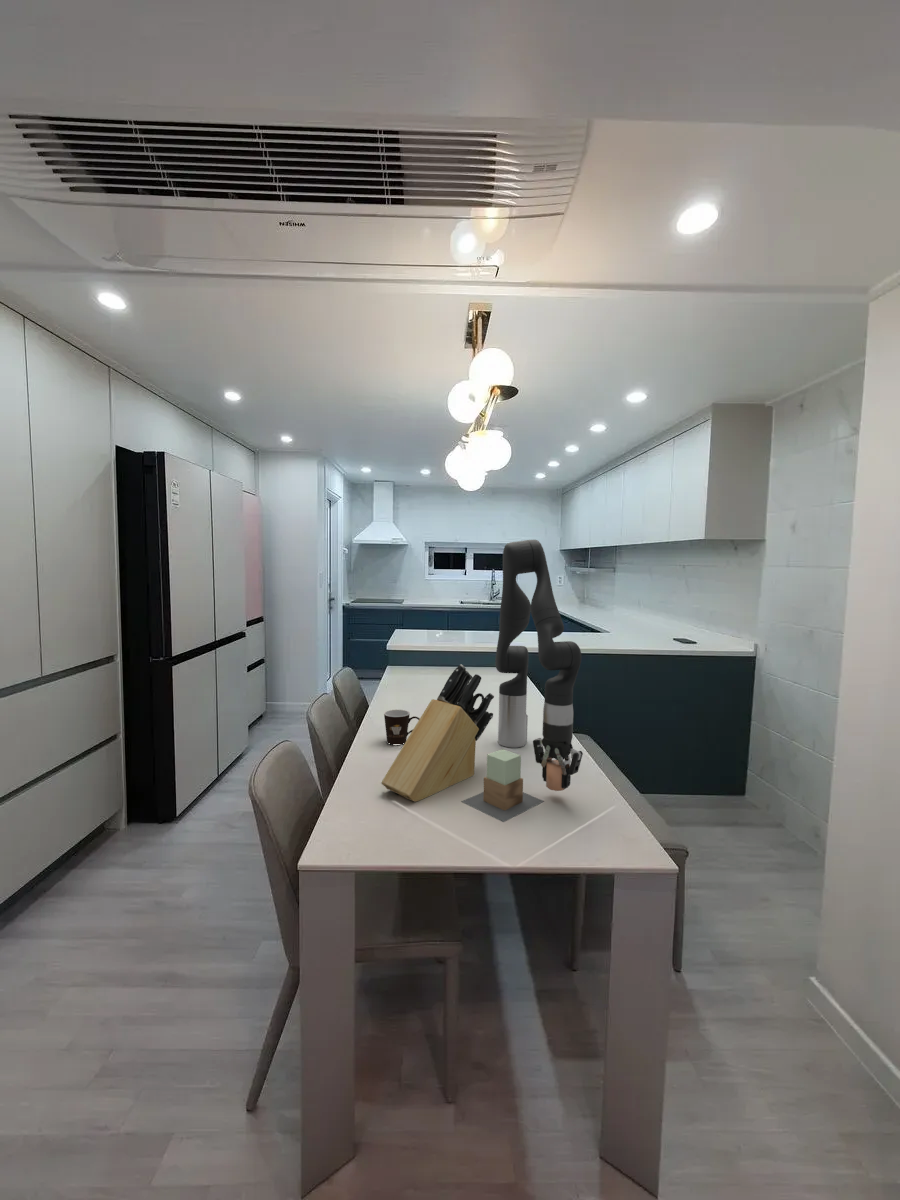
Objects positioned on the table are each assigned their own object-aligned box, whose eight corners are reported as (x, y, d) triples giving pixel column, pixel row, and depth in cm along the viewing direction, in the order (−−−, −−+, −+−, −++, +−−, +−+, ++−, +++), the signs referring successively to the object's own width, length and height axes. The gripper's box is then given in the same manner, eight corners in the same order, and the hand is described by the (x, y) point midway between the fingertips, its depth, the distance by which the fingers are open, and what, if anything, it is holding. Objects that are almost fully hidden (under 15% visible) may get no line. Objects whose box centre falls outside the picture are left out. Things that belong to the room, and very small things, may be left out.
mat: (502, 785, 142) (502, 783, 142) (544, 803, 132) (544, 801, 131) (461, 803, 131) (461, 801, 131) (503, 824, 121) (503, 822, 120)
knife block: (495, 767, 154) (498, 665, 152) (409, 807, 128) (411, 684, 126) (466, 757, 162) (468, 659, 159) (380, 793, 135) (380, 677, 133)
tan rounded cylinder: (553, 780, 137) (554, 758, 136) (569, 786, 133) (570, 764, 132) (542, 786, 133) (542, 763, 133) (558, 792, 129) (559, 769, 129)
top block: (502, 771, 135) (502, 749, 134) (520, 778, 131) (520, 755, 130) (486, 777, 131) (487, 754, 130) (504, 785, 126) (505, 761, 126)
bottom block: (501, 792, 136) (502, 770, 136) (522, 801, 131) (523, 778, 130) (483, 800, 131) (483, 777, 131) (504, 810, 126) (505, 786, 126)
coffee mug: (379, 744, 172) (379, 714, 172) (391, 736, 180) (391, 708, 180) (410, 749, 168) (410, 719, 167) (421, 741, 176) (422, 712, 175)
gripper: (590, 723, 129) (588, 789, 130) (543, 710, 139) (541, 771, 141) (574, 729, 124) (571, 798, 125) (526, 716, 134) (524, 779, 136)
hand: (555, 783), depth 133 cm, fingers closed on tan rounded cylinder, 5 cm apart
